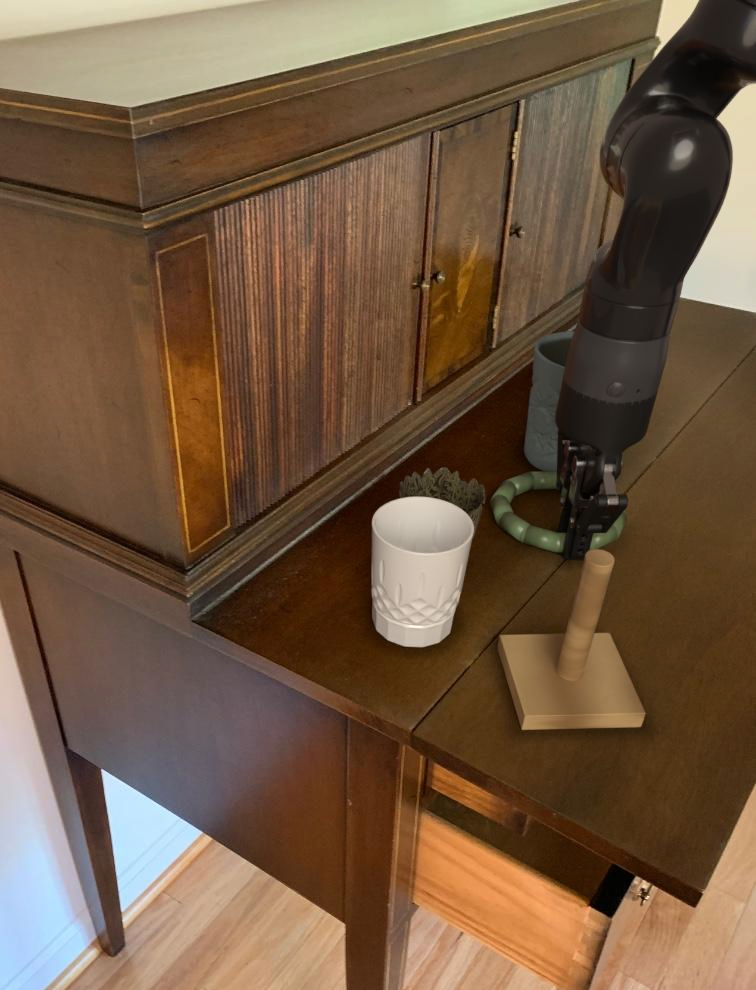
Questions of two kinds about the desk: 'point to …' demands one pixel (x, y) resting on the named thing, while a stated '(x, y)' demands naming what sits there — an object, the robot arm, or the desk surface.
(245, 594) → the desk surface
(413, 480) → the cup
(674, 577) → the desk surface
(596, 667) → the post
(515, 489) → the ring
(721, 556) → the desk surface
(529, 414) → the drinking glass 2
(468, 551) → the white cup
